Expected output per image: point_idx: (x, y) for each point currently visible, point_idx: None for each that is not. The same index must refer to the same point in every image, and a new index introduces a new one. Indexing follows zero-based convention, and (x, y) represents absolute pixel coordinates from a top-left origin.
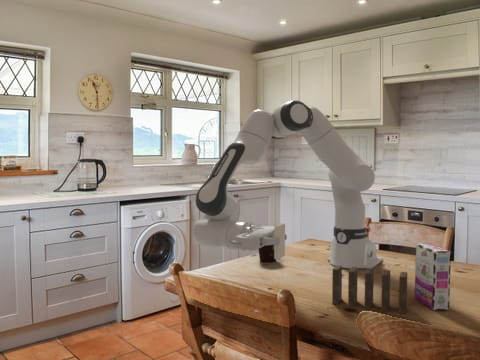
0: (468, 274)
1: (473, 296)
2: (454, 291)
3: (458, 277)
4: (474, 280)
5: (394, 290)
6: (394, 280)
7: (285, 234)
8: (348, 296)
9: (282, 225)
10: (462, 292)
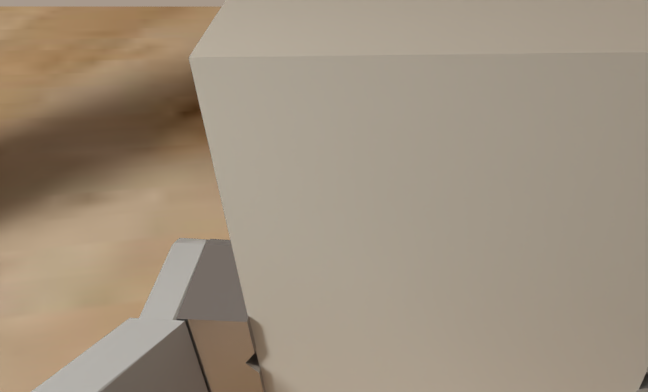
0: (2, 14)
1: (219, 8)
2: (179, 29)
3: (32, 25)
4: (67, 7)
5: (189, 121)
6: (51, 128)
7: (187, 240)
8: None
9: (444, 3)
10: (186, 20)
